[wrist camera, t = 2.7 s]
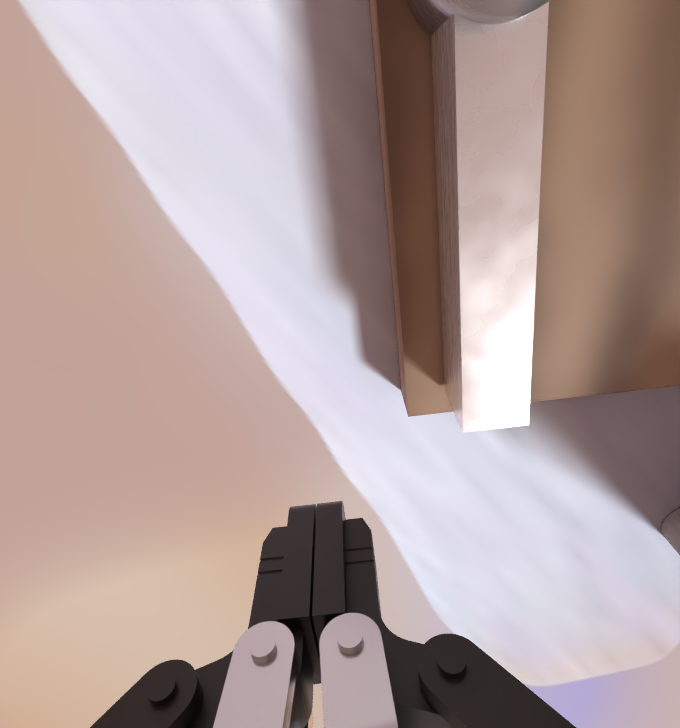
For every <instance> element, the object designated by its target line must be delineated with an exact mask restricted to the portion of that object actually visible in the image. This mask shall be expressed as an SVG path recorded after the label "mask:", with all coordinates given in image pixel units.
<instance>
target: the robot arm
mask: <svg viewBox="0 0 680 728" xmlns="http://www.w3.org/2000/svg"><path fill="white" fill-rule="evenodd" d="M260 560H261V561H260V564H259V570H258V576H257V581H256V588H255V593H254V599H253V605H252V611H251V616H250V623H249V627H248V630H247V631H245V632H244V633H243V634H242V636H241V637H240V638H239V640H238V641H237V643H236V645H235V648H234V650H233V651H232V652H231V653H229V654H228V655H227V656H225V657H224V658H221V659H219V660H217V661H215V662H213V663H210V664H208V665H206V666H204V667H201V668H199V669H196V670H194V668H193V667H192V666H191V664H189V663H187V662H186V661H183V660H170V661H166V662H163V663H161V664H159V665H157V666H155V667H154V668H152V669H151V670H150V671H148V672H147V673H146V674H145V675H144V676H143V677H142V678H141V679H140V680H139V681H138V682H137V683H136V684H135V685H134V686H133V687H131V689H130V690H128V691H127V692H126V693H125V694H124V695H123V696H122V697H121V698H120V699H119V700H118V701H117V702H116V703H115V704H114V705H113V706H112V707H111V708H110V709H109V710H108V711H107V712H106V713H105V714H104V715H103V716H102V717H101V718H100V719H98V720H97V721H96V722H95V723H94V724H93V725H92V726H91V727H90V728H312V727H313V713H312V702H313V701H312V700H313V684H319V683H321V684H322V701H323V720H324V728H576V727H575V726H573V725H572V724H571V723H570V722H569V721H567V720H566V719H565V718H564V717H562V716H561V715H560V714H559V713H558V712H556V711H555V710H554V709H553V708H552V707H550V706H549V705H548V704H547V703H546V702H544V701H543V700H542V699H541V698H539V697H538V696H537V695H536V694H534V693H533V692H532V691H531V690H530V689H528V688H527V687H526V686H525V685H524V684H522V683H521V682H520V681H519V680H518V679H516V678H515V677H514V676H513V675H511V674H510V673H509V672H508V671H507V670H505V669H504V668H503V667H502V666H501V665H499V664H498V663H497V662H496V661H494V660H493V659H492V658H491V657H490V656H488V655H487V654H486V653H485V652H484V651H482V650H481V649H480V648H479V647H477V646H476V645H475V644H474V643H473V642H471V641H470V640H468V639H466V638H464V637H462V636H459V635H456V634H441V635H438V636H435V637H433V638H431V639H429V640H428V641H427V642H426V643H425V644H420V643H416V642H412V641H408V640H405V639H402V638H400V637H398V636H396V635H395V634H393V633H392V632H391V631H390V630H389V629H388V628H387V627H386V626H385V624H384V623H383V621H382V618H381V610H380V600H379V590H378V581H377V571H376V565H375V564H376V563H375V556H374V548H373V540H372V534H371V530H370V528H369V527H368V525H367V524H366V523H365V521H364V520H363V518H358V519H348V520H346V519H345V512H344V506H343V502H342V501H338V502H330V503H321V504H317V507H316V505H315V504H313V505H304V506H295V507H290V509H289V516H288V524H287V526H286V527H277V528H273V529H272V530H271V532H270V533H269V535H268V536H267V538H266V539H265V541H264V542H263V546H262V552H261V558H260Z"/></svg>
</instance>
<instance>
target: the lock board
mask: <svg viewBox="0 0 680 728" xmlns="http://www.w3.org/2000/svg"><path fill="white" fill-rule="evenodd" d="M369 4H370V16H371V28H372V40H373V53H374V65H375V77H376V89H377V101H378V114H379V126H380V138H381V150H382V162H383V174H384V187H385V199H386V211H387V223H388V235H389V247H390V260H391V272H392V284H393V296H394V308H395V321H396V333H397V345H398V357H399V369H400V381H401V392H402V395H403V399H404V403H405V406H406V410H407V414H408V417H409V416H418V415H426V414H435V413H443V412H452V411H453V409H452V407H451V404H450V402H449V400H448V398H447V395H446V393H445V388H444V362H443V336H442V310H441V284H440V258H439V233H438V207H437V181H436V155H435V129H434V104H433V78H432V52H431V36H430V35H429V34H427V33H426V32H425V31H424V30H423V29H422V28H421V27H420V25H419V24H418V23H417V21H416V20H415V18H414V17H413V15H412V13H411V11H410V9H409V7H408V4H407V1H406V0H369ZM676 385H680V0H550V1H549V11H548V32H547V53H546V74H545V96H544V117H543V138H542V159H541V180H540V202H539V223H538V244H537V265H536V286H535V308H534V329H533V350H532V371H531V392H530V402H538V401H547V400H556V399H564V398H573V397H581V396H590V395H599V394H607V393H616V392H625V391H633V390H642V389H651V388H659V387H668V386H676Z"/></svg>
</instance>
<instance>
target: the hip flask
mask: <svg viewBox="0 0 680 728" xmlns="http://www.w3.org/2000/svg"><path fill="white" fill-rule="evenodd" d="M661 532H662V534H663V536H664V537H665V538H666V539H667V540H668V542H669V543H670V544H671V545H672V546H673V548H674V549H675V550H676V551H677V552H678V554H679V555H680V508H678V509H677V510H675V511H674V512H672V513H671V514H670V515H668V516H667V517H666V518H665V520H664V521H663V523H662V526H661Z"/></svg>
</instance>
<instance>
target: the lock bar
mask: <svg viewBox="0 0 680 728" xmlns="http://www.w3.org/2000/svg"><path fill="white" fill-rule="evenodd" d="M406 1H407V4H408V7H409V9H410V11H411V13H412V15H413V17H414V18H415V20H416V21H417V23H418V24H419V25H420V27H421V28H422V29H423V30H424V31H425V32H426V33H427V34H429V35H430V36H431V52H432V78H433V104H434V129H435V155H436V181H437V207H438V233H439V258H440V284H441V310H442V336H443V362H444V388H445V393H446V395H447V398H448V400H449V402H450V404H451V407H452V409H453V411H454V413H455V416H456V418H457V420H458V422H459V425H460V427H461V429H462V431H463V433H464V432H473V431H482V430H490V429H499V428H508V427H517V426H525V425H529V413H530V392H531V371H532V350H533V329H534V308H535V286H536V265H537V244H538V223H539V202H540V180H541V159H542V138H543V117H544V96H545V74H546V53H547V32H548V11H549V1H550V0H406Z"/></svg>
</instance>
